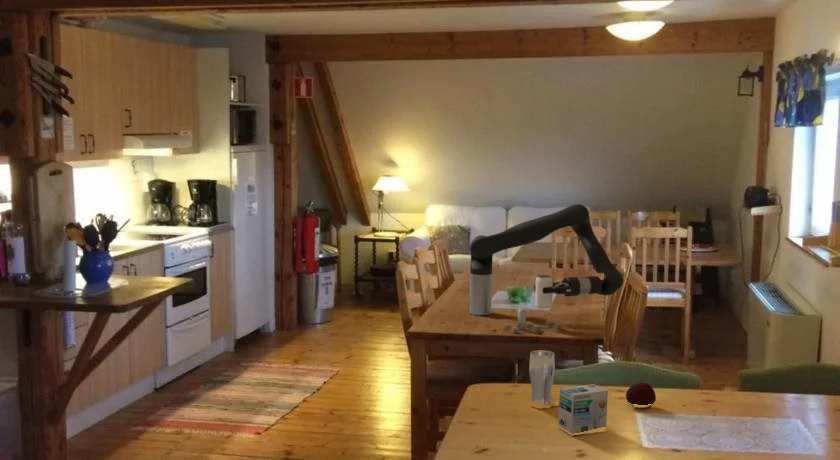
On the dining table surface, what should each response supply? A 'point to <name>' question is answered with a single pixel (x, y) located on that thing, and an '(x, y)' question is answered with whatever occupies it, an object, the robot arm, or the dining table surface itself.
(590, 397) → the light bulb box
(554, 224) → the robot arm
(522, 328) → the grey peg
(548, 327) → the rail
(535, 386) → the beer glass
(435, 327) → the dining table surface
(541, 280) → the can
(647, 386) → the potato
